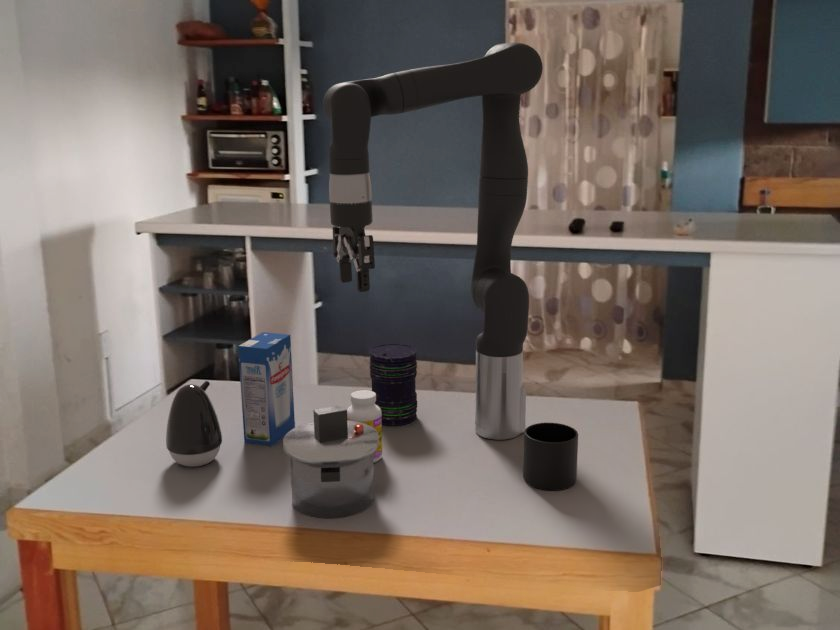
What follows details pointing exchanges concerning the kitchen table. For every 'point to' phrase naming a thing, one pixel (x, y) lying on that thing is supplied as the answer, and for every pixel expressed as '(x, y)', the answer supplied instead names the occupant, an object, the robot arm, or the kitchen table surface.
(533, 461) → the mug
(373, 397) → the supplement bottle
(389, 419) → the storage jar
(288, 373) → the milk carton
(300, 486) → the pot
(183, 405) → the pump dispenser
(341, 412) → the lid
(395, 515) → the kitchen table surface
